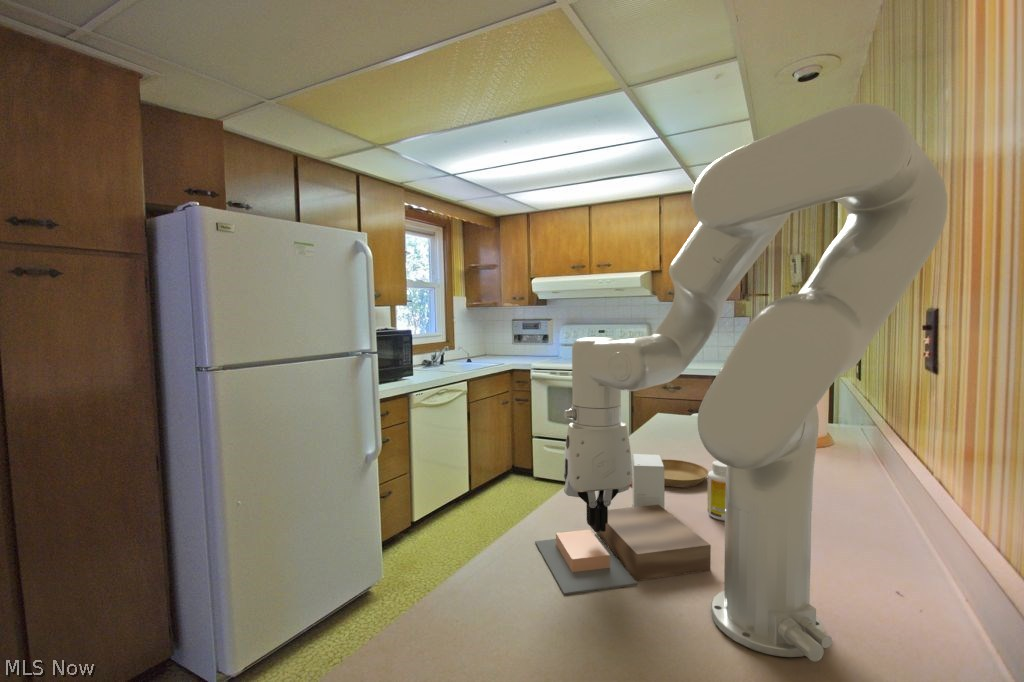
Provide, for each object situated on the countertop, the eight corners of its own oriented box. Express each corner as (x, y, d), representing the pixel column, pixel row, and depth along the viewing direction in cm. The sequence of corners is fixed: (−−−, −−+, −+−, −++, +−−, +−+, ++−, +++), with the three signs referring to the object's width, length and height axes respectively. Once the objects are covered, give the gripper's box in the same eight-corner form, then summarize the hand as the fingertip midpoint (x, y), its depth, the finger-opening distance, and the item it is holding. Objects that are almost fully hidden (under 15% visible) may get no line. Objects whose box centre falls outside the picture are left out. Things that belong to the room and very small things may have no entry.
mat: (636, 584, 72) (637, 582, 72) (564, 595, 70) (564, 592, 70) (595, 535, 87) (595, 534, 87) (535, 542, 85) (535, 541, 85)
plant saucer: (693, 468, 123) (693, 458, 123) (720, 490, 109) (720, 478, 108) (634, 470, 123) (634, 459, 123) (653, 492, 108) (653, 480, 108)
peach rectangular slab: (572, 559, 75) (572, 572, 75) (609, 554, 76) (609, 567, 76) (555, 533, 84) (556, 544, 84) (589, 529, 85) (589, 540, 85)
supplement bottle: (744, 521, 92) (745, 467, 91) (715, 522, 92) (715, 468, 91) (730, 509, 98) (731, 458, 97) (702, 510, 98) (702, 459, 97)
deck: (710, 570, 75) (710, 544, 75) (637, 580, 73) (637, 554, 73) (658, 525, 91) (658, 504, 91) (596, 533, 88) (596, 511, 88)
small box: (664, 522, 93) (664, 466, 92) (633, 520, 94) (633, 465, 93) (660, 505, 100) (660, 454, 100) (632, 503, 102) (632, 453, 101)
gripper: (558, 423, 73) (559, 544, 75) (651, 417, 76) (651, 533, 78) (544, 413, 81) (545, 523, 82) (630, 408, 84) (630, 514, 85)
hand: (597, 528), depth 80 cm, fingers closed
